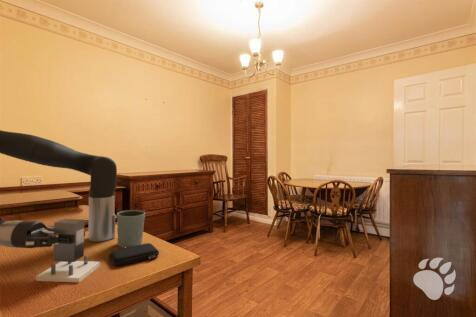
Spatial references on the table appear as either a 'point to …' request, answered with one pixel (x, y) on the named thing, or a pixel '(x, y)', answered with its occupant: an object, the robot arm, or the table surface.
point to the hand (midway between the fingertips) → (78, 236)
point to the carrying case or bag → (133, 254)
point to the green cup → (130, 227)
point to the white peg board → (69, 271)
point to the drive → (69, 250)
